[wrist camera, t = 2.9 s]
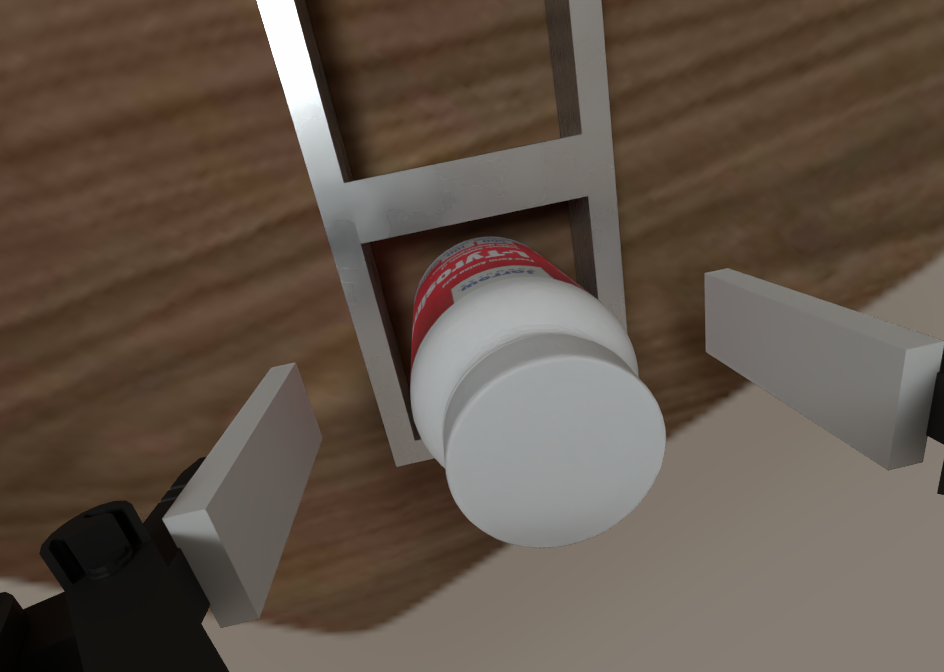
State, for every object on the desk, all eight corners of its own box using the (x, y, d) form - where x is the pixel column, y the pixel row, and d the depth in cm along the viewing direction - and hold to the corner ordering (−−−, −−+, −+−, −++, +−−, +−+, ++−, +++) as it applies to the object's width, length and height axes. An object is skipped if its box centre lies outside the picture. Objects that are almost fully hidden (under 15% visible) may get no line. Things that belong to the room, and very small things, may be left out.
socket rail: (398, 434, 22) (396, 471, 19) (82, -660, 11) (-22, -919, 8) (610, 386, 22) (636, 416, 19) (504, -717, 11) (531, -983, 9)
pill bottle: (506, 202, 19) (618, 250, 8) (583, 320, 21) (749, 477, 10) (381, 294, 19) (341, 443, 9) (468, 399, 21) (515, 619, 11)
